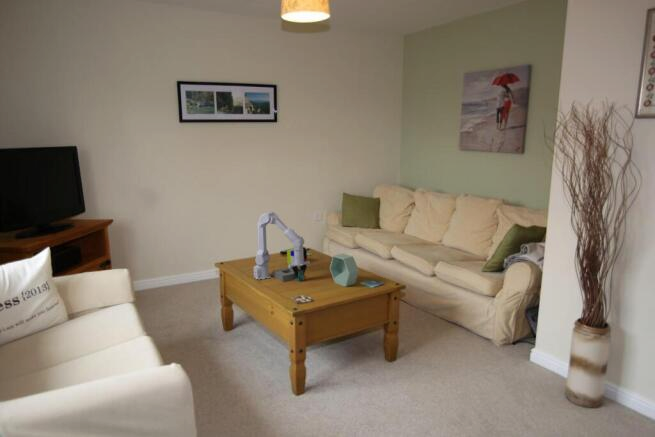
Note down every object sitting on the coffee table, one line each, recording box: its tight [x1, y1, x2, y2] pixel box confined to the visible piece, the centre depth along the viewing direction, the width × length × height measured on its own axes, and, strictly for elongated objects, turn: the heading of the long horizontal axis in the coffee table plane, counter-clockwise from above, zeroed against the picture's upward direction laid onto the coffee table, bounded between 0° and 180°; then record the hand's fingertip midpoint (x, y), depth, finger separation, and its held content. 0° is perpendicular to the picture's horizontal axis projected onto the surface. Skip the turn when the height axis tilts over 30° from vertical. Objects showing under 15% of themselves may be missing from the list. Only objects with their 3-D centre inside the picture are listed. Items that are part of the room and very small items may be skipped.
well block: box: [272, 267, 296, 283], centre depth 306 cm, size 14×14×4 cm
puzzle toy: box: [286, 248, 308, 265], centre depth 337 cm, size 10×10×10 cm
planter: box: [329, 253, 360, 288], centre depth 290 cm, size 17×8×21 cm
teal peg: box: [295, 268, 304, 283], centre depth 298 cm, size 4×4×7 cm
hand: (299, 277), depth 298 cm, fingers closed on teal peg, 4 cm apart
